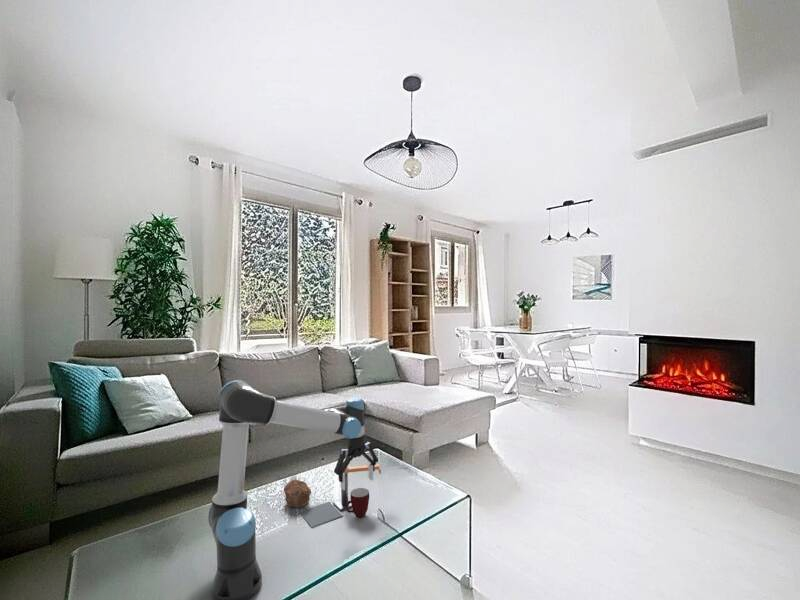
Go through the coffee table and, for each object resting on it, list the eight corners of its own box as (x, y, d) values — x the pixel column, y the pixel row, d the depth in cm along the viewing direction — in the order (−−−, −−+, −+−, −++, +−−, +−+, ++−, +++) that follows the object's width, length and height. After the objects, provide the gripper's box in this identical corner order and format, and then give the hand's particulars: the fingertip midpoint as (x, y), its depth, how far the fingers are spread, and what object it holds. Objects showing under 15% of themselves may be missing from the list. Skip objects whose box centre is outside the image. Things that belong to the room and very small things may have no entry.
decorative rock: (280, 502, 179) (279, 480, 178) (302, 493, 186) (301, 472, 186) (292, 513, 169) (292, 491, 169) (315, 504, 176) (315, 482, 176)
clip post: (340, 511, 170) (340, 478, 170) (333, 503, 176) (332, 472, 176) (356, 505, 174) (356, 473, 174) (348, 498, 181) (348, 467, 181)
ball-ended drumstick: (381, 474, 176) (381, 466, 176) (340, 478, 173) (339, 471, 173) (379, 470, 180) (379, 463, 180) (339, 474, 177) (339, 467, 177)
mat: (311, 528, 158) (311, 527, 158) (299, 512, 170) (299, 511, 170) (342, 516, 166) (342, 515, 166) (329, 502, 178) (329, 501, 178)
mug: (351, 525, 160) (350, 501, 159) (342, 516, 166) (341, 493, 166) (373, 516, 166) (372, 493, 165) (363, 508, 172) (363, 486, 172)
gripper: (332, 444, 155) (334, 496, 155) (385, 430, 169) (386, 478, 169) (325, 439, 161) (326, 489, 162) (376, 426, 175) (377, 472, 176)
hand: (357, 484), depth 165 cm, fingers open, 13 cm apart
